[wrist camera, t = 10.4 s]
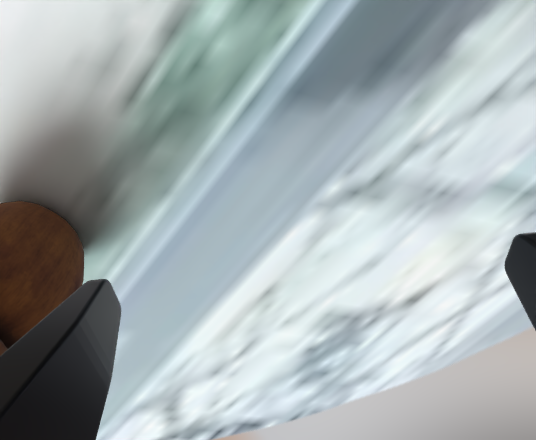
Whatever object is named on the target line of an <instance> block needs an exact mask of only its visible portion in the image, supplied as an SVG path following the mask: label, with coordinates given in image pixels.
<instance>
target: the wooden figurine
mask: <svg viewBox="0 0 536 440" xmlns="http://www.w3.org/2000/svg"><path fill="white" fill-rule="evenodd" d="M83 276H84V251H83V246H82V243H81V241H80V239H79V237H78V235H77V233H76V232H75V230H74V229H73V228H72V227H71V226H70V225H69V223H68V222H67V221H66V220H65V219H63V218H62V217H60V216H59V215H57V214H56V213H54V212H53V211H51V210H49V209H47V208H45V207H42V206H40V205H38V204H35V203H29V202H23V201H15V202H7V203H1V204H0V356H1V355H2V354H3V353H4V352H5V351H7V350H8V349H9V348H10V347H11V346H12V345H14V344H15V343H16V342H17V341H18V340H19V339H20V338H22V337H23V336H24V335H25V334H26V333H27V332H29V331H30V330H31V329H32V328H33V327H34V326H36V325H37V324H38V323H39V322H40V321H41V320H43V319H44V318H45V317H46V316H47V315H48V314H50V313H51V312H52V311H53V310H54V309H55V308H57V307H58V306H59V305H60V304H61V303H62V302H63V301H65V300H66V299H67V298H68V297H69V296H70V295H72V294H73V293H74V292H75V291H76V290H77V289H79V288H80V287H81V286H82V283H83Z"/></svg>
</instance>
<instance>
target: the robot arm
mask: <svg viewBox="0 0 536 440" xmlns="http://www.w3.org/2000/svg"><path fill="white" fill-rule="evenodd" d="M505 271H506V274H507V276H508V278H509V280H510V282H511V284H512V285H513V287H514V289H515V291H516V293H517V295H518V297H519V299H520V301H521V303H522V305H523V307H524V309H525V311H526V313H527V315H528V317H529V319H530V321H531V323H532V325H533V327H534V328H535V330H536V232H532V233H523V234H518V235H516V236H515V237H514V239H513V241H512V244H511V246H510V249H509V252H508V255H507V257H506V260H505ZM120 318H121V306H120V303H119V301H118V298H117V296H116V294H115V292H114V290H113V288H112V285H111V283H110V282H109V281H108V280H107V279H98V280H90V281H87V282H86V283H84V284H83V285H82V286H81V287H80V288H79V289H77V290H76V291H75V292H74V293H73V294H72V295H70V296H69V297H68V298H67V299H66V300H65V301H63V302H62V303H61V304H60V305H59V306H58V307H57V308H55V309H54V310H53V311H52V312H51V313H50V314H48V315H47V316H46V317H45V318H44V319H43V320H41V321H40V322H39V323H38V324H37V325H36V326H34V327H33V328H32V329H31V330H30V331H29V332H27V333H26V334H25V335H24V336H23V337H22V338H20V339H19V340H18V341H17V342H16V343H15V344H14V345H12V346H11V347H10V348H9V349H8V350H7V351H5V352H4V353H3V354H2V355H1V356H0V440H96V436H97V433H98V429H99V425H100V421H101V417H102V414H103V410H104V406H105V402H106V398H107V395H108V391H109V387H110V382H111V378H112V372H113V366H114V359H115V352H116V346H117V339H118V332H119V325H120Z"/></svg>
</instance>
